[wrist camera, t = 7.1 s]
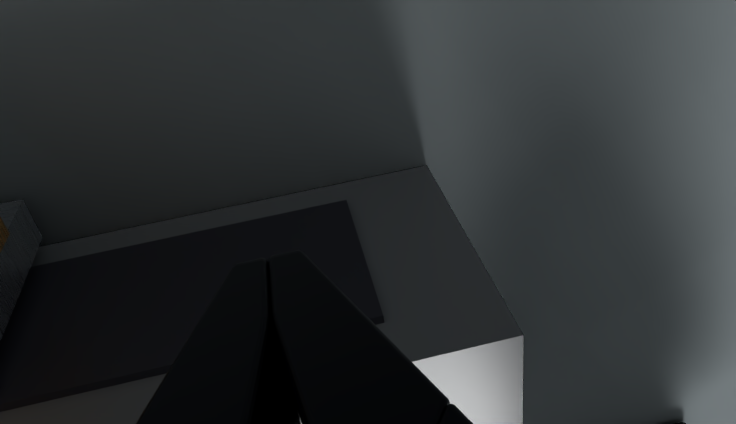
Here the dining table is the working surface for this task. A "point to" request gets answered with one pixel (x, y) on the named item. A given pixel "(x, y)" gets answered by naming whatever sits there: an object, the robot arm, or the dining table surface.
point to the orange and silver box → (15, 254)
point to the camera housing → (262, 240)
